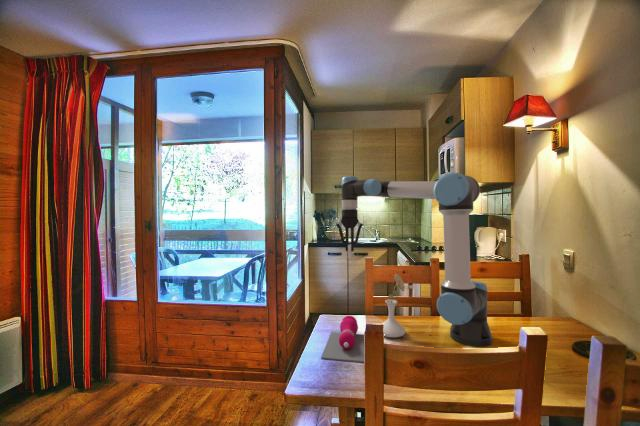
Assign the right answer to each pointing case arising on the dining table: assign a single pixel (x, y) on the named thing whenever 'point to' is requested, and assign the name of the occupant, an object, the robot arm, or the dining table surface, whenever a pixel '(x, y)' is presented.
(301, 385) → the dining table surface
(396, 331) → the flower in vase
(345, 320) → the pepper mill
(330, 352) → the mat
